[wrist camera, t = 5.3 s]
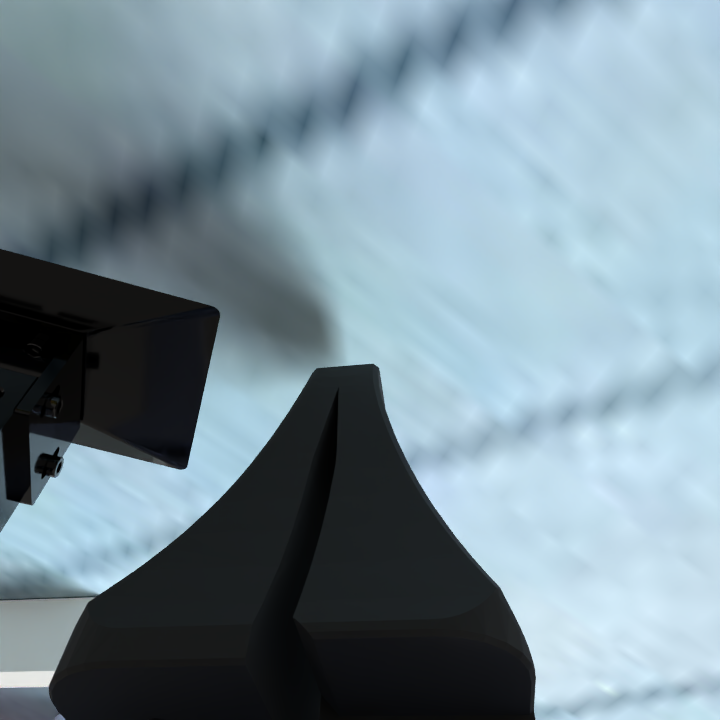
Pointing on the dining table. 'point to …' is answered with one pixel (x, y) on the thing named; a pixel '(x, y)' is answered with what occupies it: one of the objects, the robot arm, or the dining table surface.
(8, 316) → the black boxy piece
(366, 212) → the dining table surface
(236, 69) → the dining table surface
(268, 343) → the dining table surface
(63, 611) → the walled lane
